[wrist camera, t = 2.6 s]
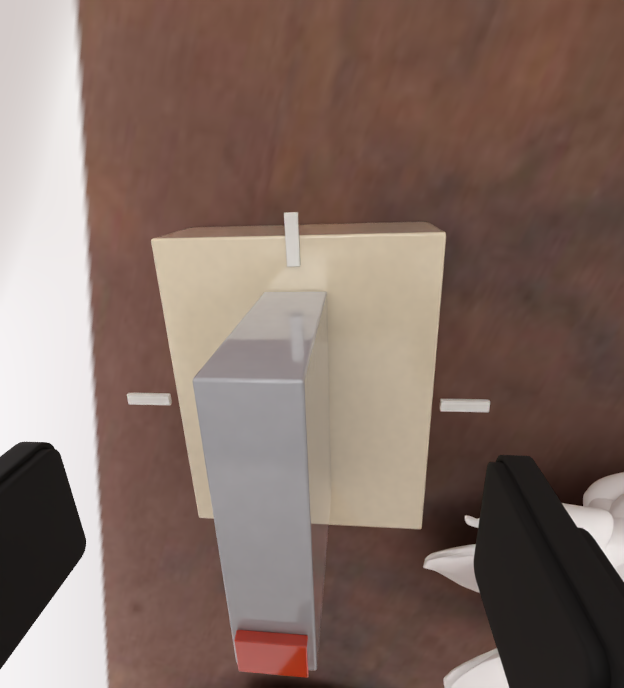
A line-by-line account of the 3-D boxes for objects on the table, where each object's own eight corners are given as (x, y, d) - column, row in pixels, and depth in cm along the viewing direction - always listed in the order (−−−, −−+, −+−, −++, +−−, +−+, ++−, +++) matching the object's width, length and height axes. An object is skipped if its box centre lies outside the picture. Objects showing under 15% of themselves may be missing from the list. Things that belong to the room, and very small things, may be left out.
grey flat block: (263, 291, 12) (185, 386, 6) (327, 290, 11) (301, 387, 6) (279, 490, 14) (232, 677, 9) (331, 492, 14) (315, 685, 9)
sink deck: (142, 210, 14) (86, 218, 11) (481, 199, 13) (518, 206, 10) (189, 475, 18) (157, 532, 15) (450, 486, 17) (469, 550, 14)
